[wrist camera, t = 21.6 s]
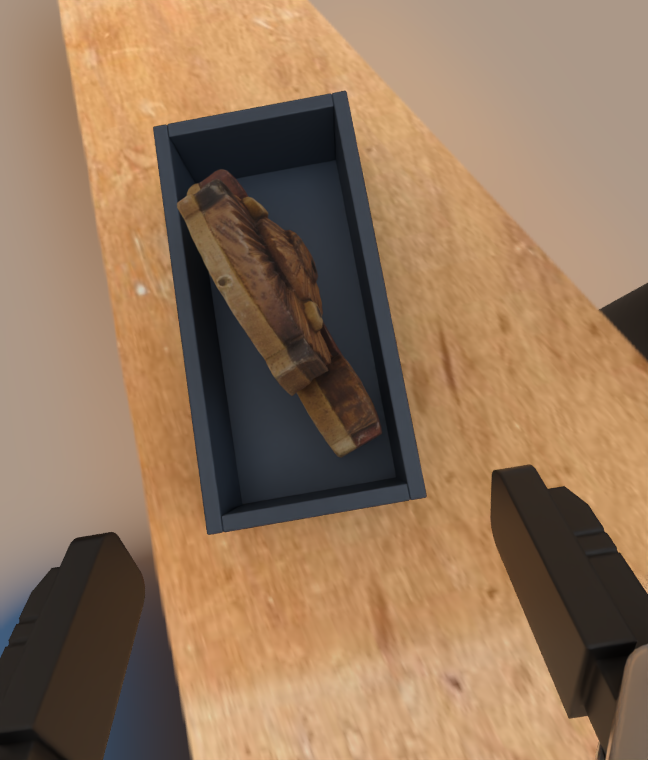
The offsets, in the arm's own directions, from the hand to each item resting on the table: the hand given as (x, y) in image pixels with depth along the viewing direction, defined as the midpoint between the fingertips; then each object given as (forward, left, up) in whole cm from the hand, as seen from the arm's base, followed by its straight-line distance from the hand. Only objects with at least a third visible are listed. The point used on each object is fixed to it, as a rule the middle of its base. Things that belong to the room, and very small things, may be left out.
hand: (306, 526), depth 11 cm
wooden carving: (+1, -9, -18) cm, 20 cm away
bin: (+1, -9, -19) cm, 21 cm away
